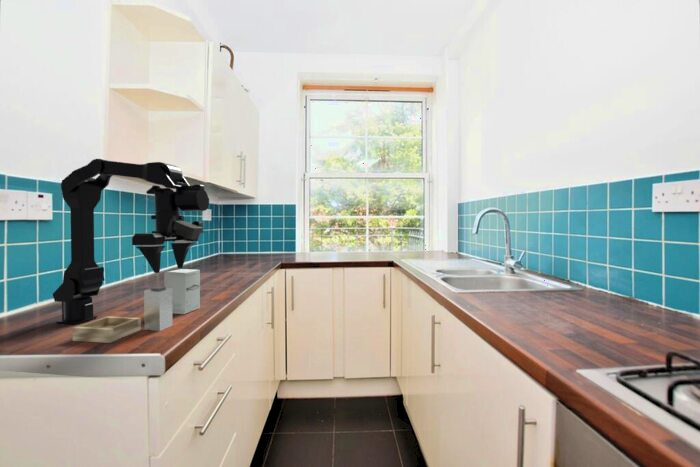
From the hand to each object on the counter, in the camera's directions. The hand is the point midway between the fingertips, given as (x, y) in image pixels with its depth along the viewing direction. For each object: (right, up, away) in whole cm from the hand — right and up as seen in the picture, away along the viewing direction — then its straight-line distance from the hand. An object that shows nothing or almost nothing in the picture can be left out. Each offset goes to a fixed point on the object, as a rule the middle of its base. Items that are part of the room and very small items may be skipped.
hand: (169, 270), depth 88 cm
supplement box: (-4, -15, +15) cm, 21 cm away
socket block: (-2, -15, -1) cm, 15 cm away
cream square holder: (-11, -15, -7) cm, 20 cm away
